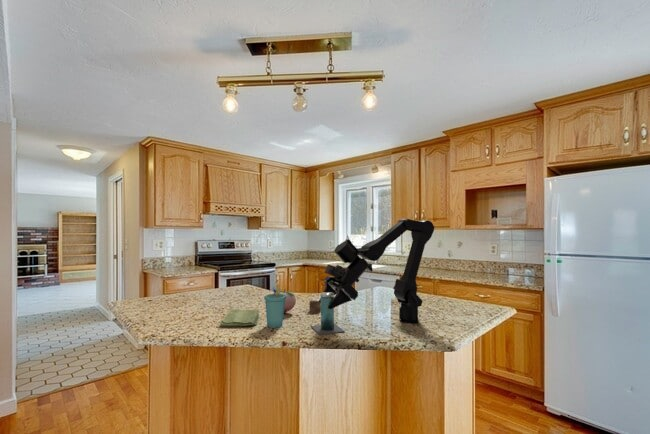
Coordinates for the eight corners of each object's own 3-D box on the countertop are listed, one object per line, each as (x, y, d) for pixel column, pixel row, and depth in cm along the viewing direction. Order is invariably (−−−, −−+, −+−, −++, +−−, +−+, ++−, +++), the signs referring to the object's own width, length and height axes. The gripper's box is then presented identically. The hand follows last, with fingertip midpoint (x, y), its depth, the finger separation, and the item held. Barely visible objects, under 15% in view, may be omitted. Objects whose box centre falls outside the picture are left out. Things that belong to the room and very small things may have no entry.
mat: (334, 324, 118) (334, 323, 118) (344, 332, 110) (344, 331, 110) (311, 327, 115) (311, 326, 115) (319, 335, 106) (319, 333, 107)
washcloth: (218, 329, 113) (218, 320, 114) (228, 316, 131) (228, 308, 131) (256, 328, 115) (256, 319, 115) (261, 315, 132) (261, 307, 132)
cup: (285, 332, 109) (286, 287, 110) (262, 333, 108) (262, 287, 109) (285, 320, 123) (286, 280, 124) (264, 321, 122) (265, 281, 123)
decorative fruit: (269, 314, 132) (269, 289, 132) (278, 310, 139) (278, 286, 140) (290, 316, 129) (290, 291, 129) (298, 311, 136) (298, 287, 137)
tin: (332, 325, 115) (332, 291, 116) (335, 330, 110) (335, 294, 111) (319, 326, 114) (319, 292, 115) (321, 331, 110) (321, 295, 110)
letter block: (321, 309, 141) (321, 298, 141) (320, 312, 136) (320, 301, 136) (311, 309, 141) (311, 298, 141) (309, 312, 137) (309, 300, 137)
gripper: (329, 254, 123) (301, 285, 119) (349, 258, 106) (317, 295, 102) (348, 274, 126) (321, 305, 122) (371, 281, 108) (340, 318, 104)
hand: (324, 305), depth 112 cm, fingers open, 9 cm apart
